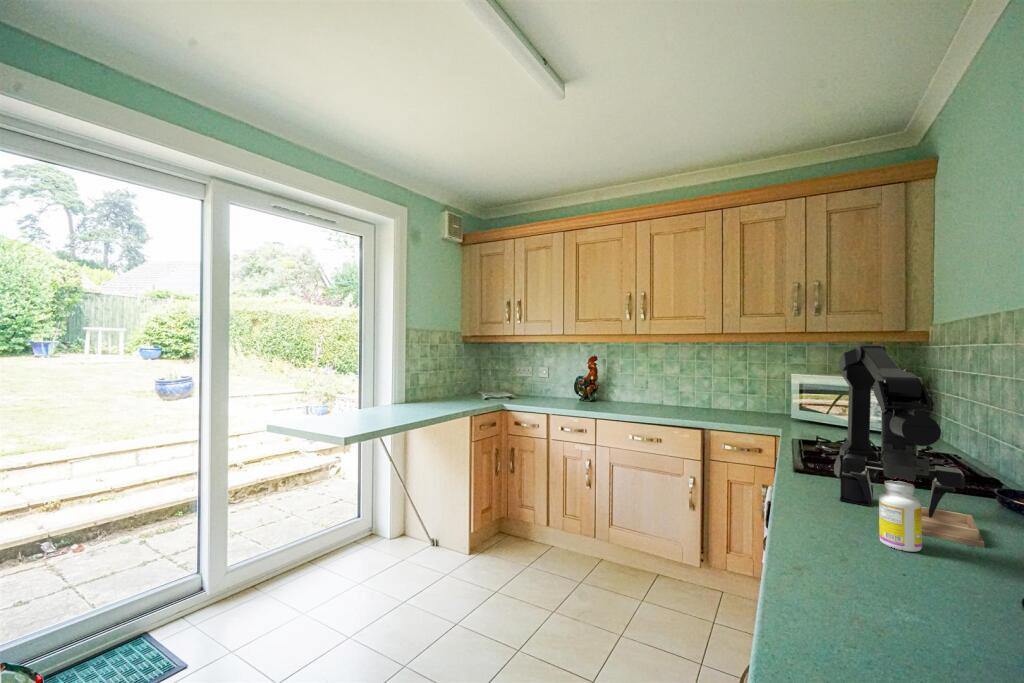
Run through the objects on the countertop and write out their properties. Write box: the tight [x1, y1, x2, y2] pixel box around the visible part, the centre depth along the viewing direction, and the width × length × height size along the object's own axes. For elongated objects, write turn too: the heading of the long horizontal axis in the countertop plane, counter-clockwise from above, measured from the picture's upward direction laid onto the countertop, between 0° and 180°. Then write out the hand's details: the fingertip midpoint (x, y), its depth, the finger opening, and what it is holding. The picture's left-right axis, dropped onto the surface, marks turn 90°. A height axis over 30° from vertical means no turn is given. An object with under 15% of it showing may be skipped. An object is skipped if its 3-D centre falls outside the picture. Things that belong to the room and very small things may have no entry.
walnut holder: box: [921, 506, 985, 548], centre depth 100 cm, size 13×13×3 cm
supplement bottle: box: [878, 479, 923, 553], centre depth 92 cm, size 7×7×13 cm
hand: (899, 511), depth 92 cm, fingers open, 9 cm apart
